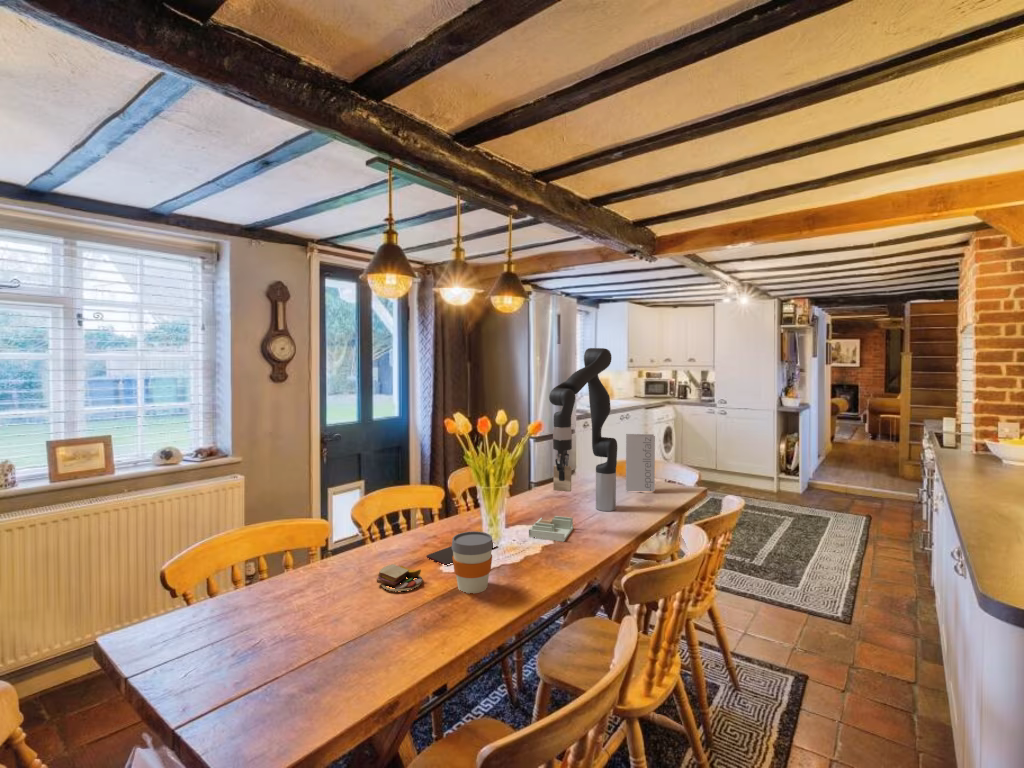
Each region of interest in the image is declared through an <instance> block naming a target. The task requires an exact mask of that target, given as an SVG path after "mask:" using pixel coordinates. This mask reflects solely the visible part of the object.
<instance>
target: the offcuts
mask: <svg viewBox="0 0 1024 768" xmlns="http://www.w3.org/2000/svg"><path fill="white" fill-rule="evenodd" d="M538 523H546V524H552V520H549V519H542V520H540V521H539V522H538Z"/></svg>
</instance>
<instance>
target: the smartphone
mask: <svg viewBox="0 0 1024 768" xmlns="http://www.w3.org/2000/svg"><path fill="white" fill-rule="evenodd" d="M425 557H427V558H426V559H428V558H429V559H428V560H430V559H431V560H430V561H432V560H434V561H435V562H436V563H437V562H439V563H441V564H444V565H447V564H450V563H453V550H452V545H451V546H448V547H445V548H443V549H439V550H437V551H434V552H432V553H429V554H426V556H425ZM435 562H434V563H435ZM439 563H438V564H439Z"/></svg>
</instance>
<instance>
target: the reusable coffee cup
mask: <svg viewBox="0 0 1024 768" xmlns="http://www.w3.org/2000/svg"><path fill="white" fill-rule="evenodd" d="M493 543H494V541H493V536H492V535H491V534H490V533H488V532H484V531H473V530H472V531H465V532H460V533H458V534H455V535H454V536H453V537H452V540H451V546H452V550H453V570H454V574H455V575H456V582H457V589H458V590H459V591H460V590H461V591H463V592H462V593H464V592H466V593H465V594H470V593H473V594H478V593H482V592H484V591H485V589H486V588H487V589H488V585H489V576H490V573H491V570H492V562H493V554H492V550H493V549H492V548H493ZM487 589H486V590H487ZM461 591H460V592H461Z"/></svg>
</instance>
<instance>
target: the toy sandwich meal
mask: <svg viewBox="0 0 1024 768" xmlns="http://www.w3.org/2000/svg"><path fill="white" fill-rule="evenodd" d="M421 572H422V569H421V568H420V569H416V570H415V569H410V568H408V567H406V566H404V565H400V566H398V565H396V564H395V563H394V564H393V563H392V564H389V565H386V566H384V567H382V568H381V569H380V570H379V571H378V573H377V576H378V577H377V578H376V583H377V584H380V586H381V587H382V588H383V589H384V590H385V589H386V590H385V591H387V590H389V591H388V592H390V591H396V592H397V591H407V590H411V589H413V590H415V589H414V588H416V587H417V588H419V587H420V585H422V583H423V579H424V578H423V577H422V576H421ZM406 577H407V578H408V579H406ZM414 578H417V579H415V580H413V579H414ZM400 583H401V584H400ZM386 586H389V587H392V588H395V589H390V588H387V587H386ZM417 588H416V589H417ZM411 591H412V590H411ZM396 592H395V593H396ZM407 592H408V591H407Z"/></svg>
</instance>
